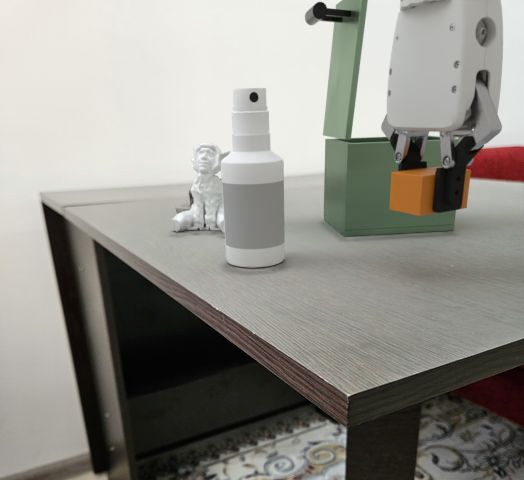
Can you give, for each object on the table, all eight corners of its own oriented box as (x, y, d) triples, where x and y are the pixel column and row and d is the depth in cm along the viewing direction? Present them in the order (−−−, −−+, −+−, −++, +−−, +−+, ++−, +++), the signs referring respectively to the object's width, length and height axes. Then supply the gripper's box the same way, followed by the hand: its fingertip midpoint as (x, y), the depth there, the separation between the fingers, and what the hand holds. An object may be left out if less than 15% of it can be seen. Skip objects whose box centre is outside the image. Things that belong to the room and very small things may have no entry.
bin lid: (341, 5, 71) (301, 1, 70) (369, -16, 59) (321, -21, 58) (327, 135, 77) (290, 133, 77) (350, 139, 66) (307, 137, 65)
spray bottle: (233, 271, 57) (224, 87, 50) (220, 256, 63) (210, 90, 56) (292, 264, 59) (291, 86, 51) (274, 251, 65) (271, 89, 57)
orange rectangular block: (434, 202, 55) (437, 166, 53) (466, 208, 51) (471, 169, 50) (389, 209, 52) (391, 172, 51) (419, 216, 49) (422, 176, 47)
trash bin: (418, 214, 84) (426, 135, 79) (453, 230, 73) (465, 139, 68) (323, 219, 82) (325, 138, 77) (344, 236, 71) (347, 143, 66)
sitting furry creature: (168, 232, 77) (159, 144, 72) (188, 220, 84) (182, 141, 79) (230, 233, 75) (225, 143, 70) (245, 221, 82) (242, 139, 77)
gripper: (569, -36, 39) (527, 215, 46) (412, 4, 52) (400, 192, 60) (496, -42, 36) (464, 226, 43) (351, 2, 49) (347, 200, 57)
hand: (427, 204), depth 52 cm, fingers closed on orange rectangular block, 4 cm apart
